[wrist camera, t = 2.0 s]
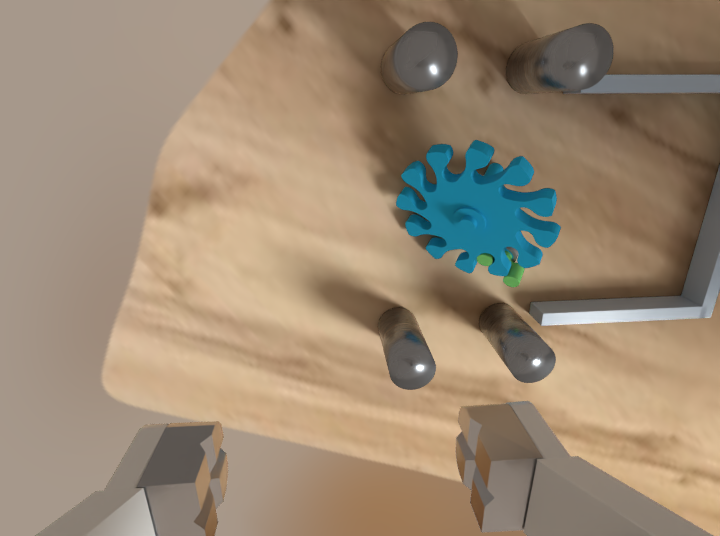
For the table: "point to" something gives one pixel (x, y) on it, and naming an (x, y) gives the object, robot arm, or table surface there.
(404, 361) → the spacer posts
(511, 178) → the gear
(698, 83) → the u-shaped bent rod
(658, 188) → the table surface
